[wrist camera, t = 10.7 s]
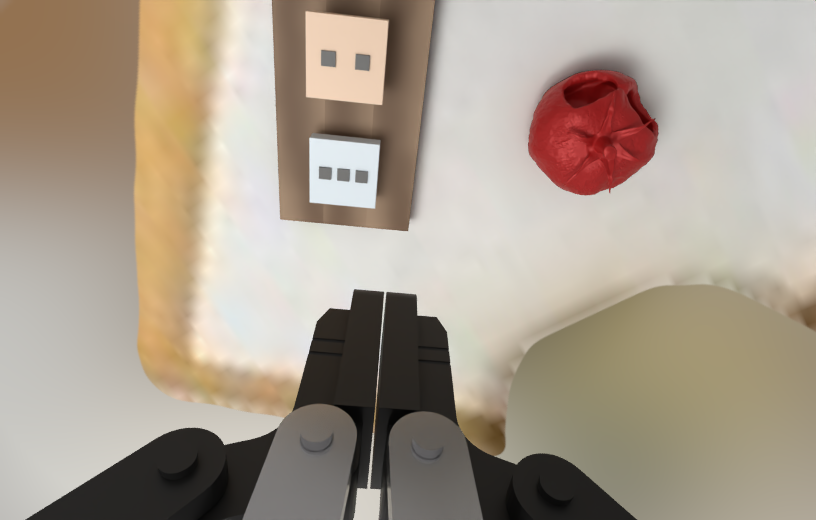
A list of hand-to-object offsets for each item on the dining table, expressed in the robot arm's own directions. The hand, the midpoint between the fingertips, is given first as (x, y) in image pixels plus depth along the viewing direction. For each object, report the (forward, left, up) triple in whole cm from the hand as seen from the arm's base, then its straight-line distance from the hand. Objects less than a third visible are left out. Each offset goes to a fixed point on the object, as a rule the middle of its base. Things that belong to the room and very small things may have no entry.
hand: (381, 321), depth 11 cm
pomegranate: (-16, +2, -33) cm, 37 cm away
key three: (+4, +7, -32) cm, 33 cm away
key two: (+4, -2, -31) cm, 31 cm away
